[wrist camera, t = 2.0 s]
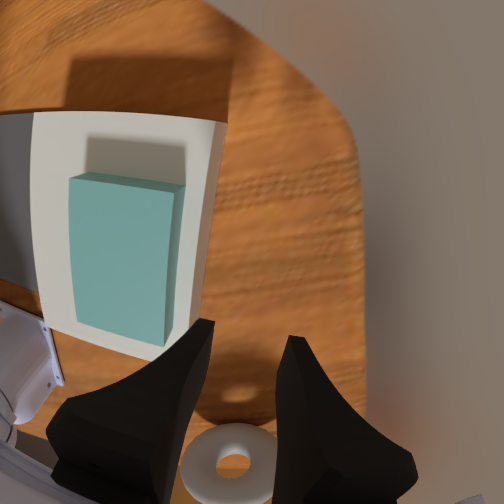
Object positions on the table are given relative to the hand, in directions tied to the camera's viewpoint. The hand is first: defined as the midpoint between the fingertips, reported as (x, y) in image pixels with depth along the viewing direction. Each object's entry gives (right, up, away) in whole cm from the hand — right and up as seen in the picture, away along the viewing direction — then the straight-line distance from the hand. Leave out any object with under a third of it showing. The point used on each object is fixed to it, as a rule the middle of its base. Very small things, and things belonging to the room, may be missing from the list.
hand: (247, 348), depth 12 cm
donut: (-1, -14, +17) cm, 22 cm away
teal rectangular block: (-7, +4, +5) cm, 10 cm away
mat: (-20, +8, +9) cm, 23 cm away
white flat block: (-9, +5, +9) cm, 14 cm away
